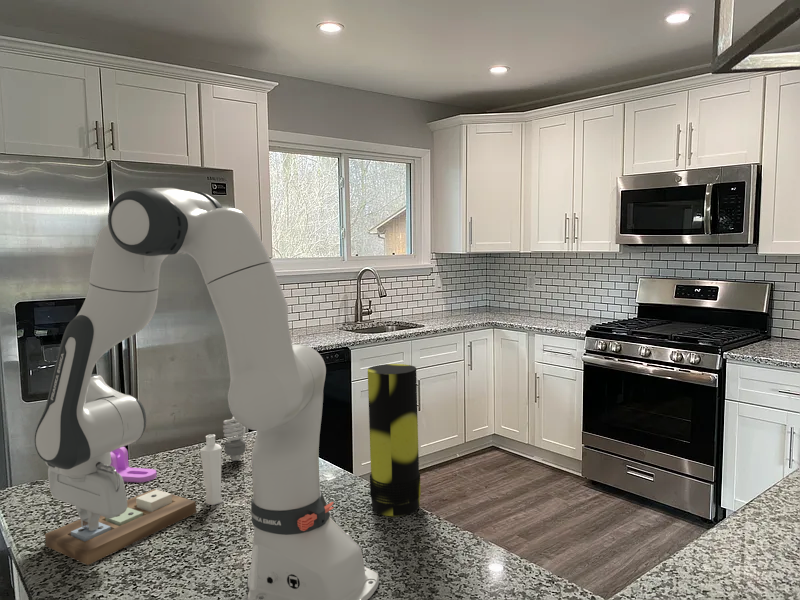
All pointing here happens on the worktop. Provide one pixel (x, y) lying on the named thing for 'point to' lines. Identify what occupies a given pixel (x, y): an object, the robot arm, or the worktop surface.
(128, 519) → the tile
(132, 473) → the bracket
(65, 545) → the dice board
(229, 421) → the light bulb
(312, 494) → the robot arm
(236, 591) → the worktop surface
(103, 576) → the worktop surface
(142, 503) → the tile
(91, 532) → the tile
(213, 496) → the white faceted bottle
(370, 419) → the container
